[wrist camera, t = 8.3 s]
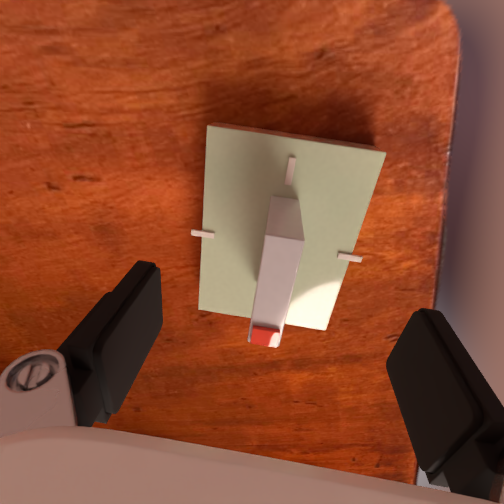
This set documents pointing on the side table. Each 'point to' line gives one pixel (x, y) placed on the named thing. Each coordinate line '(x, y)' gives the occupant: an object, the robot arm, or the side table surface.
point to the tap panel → (256, 209)
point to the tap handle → (276, 271)
